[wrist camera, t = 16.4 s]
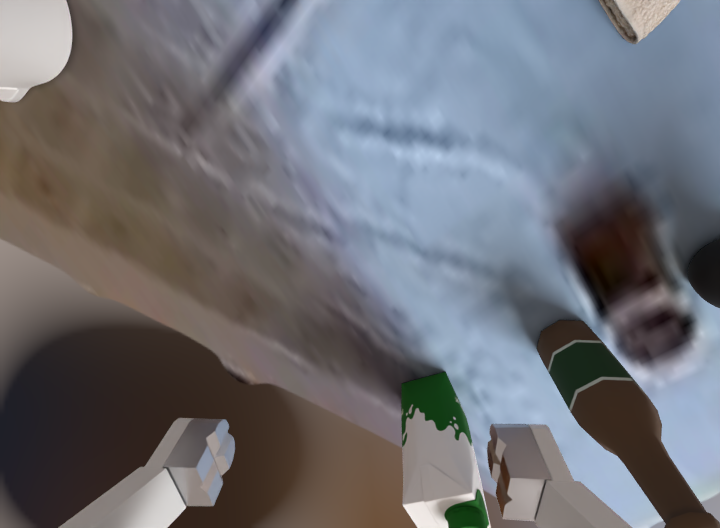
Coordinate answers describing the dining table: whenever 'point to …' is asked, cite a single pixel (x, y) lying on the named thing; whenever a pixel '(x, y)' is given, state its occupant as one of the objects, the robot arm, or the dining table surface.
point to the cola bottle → (706, 273)
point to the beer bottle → (619, 418)
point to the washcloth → (637, 16)
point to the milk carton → (439, 458)
